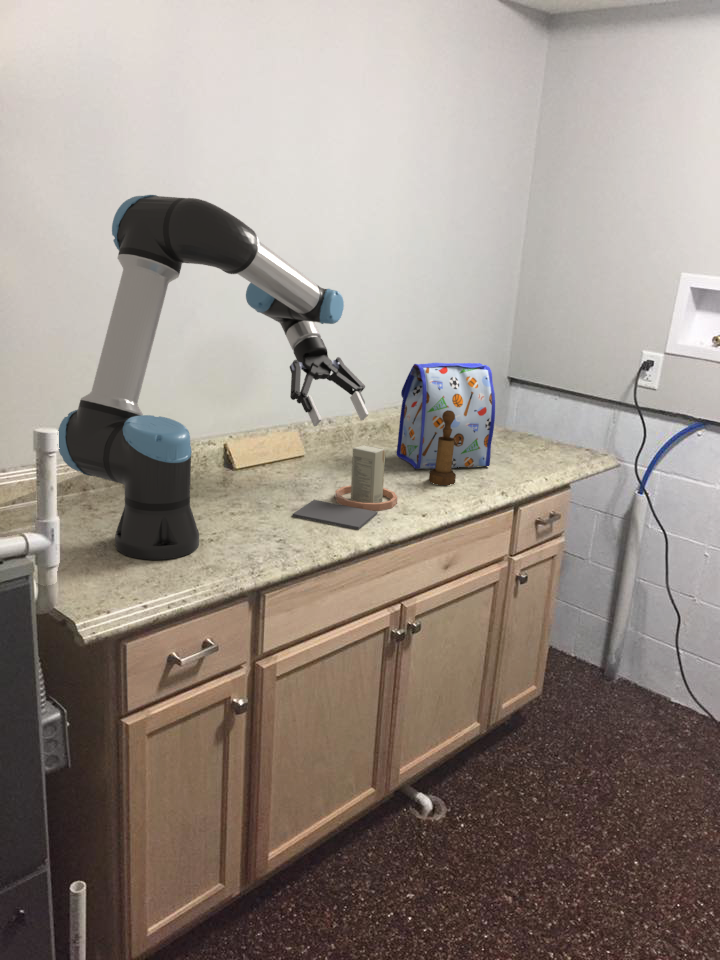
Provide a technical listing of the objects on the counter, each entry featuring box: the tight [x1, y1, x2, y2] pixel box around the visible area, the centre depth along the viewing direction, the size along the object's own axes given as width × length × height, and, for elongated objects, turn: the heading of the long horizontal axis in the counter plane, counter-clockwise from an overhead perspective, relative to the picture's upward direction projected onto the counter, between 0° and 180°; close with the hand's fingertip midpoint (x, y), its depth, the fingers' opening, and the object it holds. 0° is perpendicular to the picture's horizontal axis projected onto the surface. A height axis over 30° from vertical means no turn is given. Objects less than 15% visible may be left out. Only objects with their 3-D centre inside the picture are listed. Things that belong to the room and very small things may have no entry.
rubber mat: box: [292, 499, 378, 531], centre depth 178 cm, size 11×15×1 cm
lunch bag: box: [396, 362, 496, 470], centre depth 222 cm, size 23×17×27 cm
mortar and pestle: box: [428, 410, 457, 486], centre depth 205 cm, size 7×6×18 cm
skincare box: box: [350, 444, 386, 503], centre depth 188 cm, size 6×4×12 cm
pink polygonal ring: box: [334, 484, 398, 512], centre depth 189 cm, size 14×14×2 cm
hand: (342, 420), depth 193 cm, fingers open, 13 cm apart
